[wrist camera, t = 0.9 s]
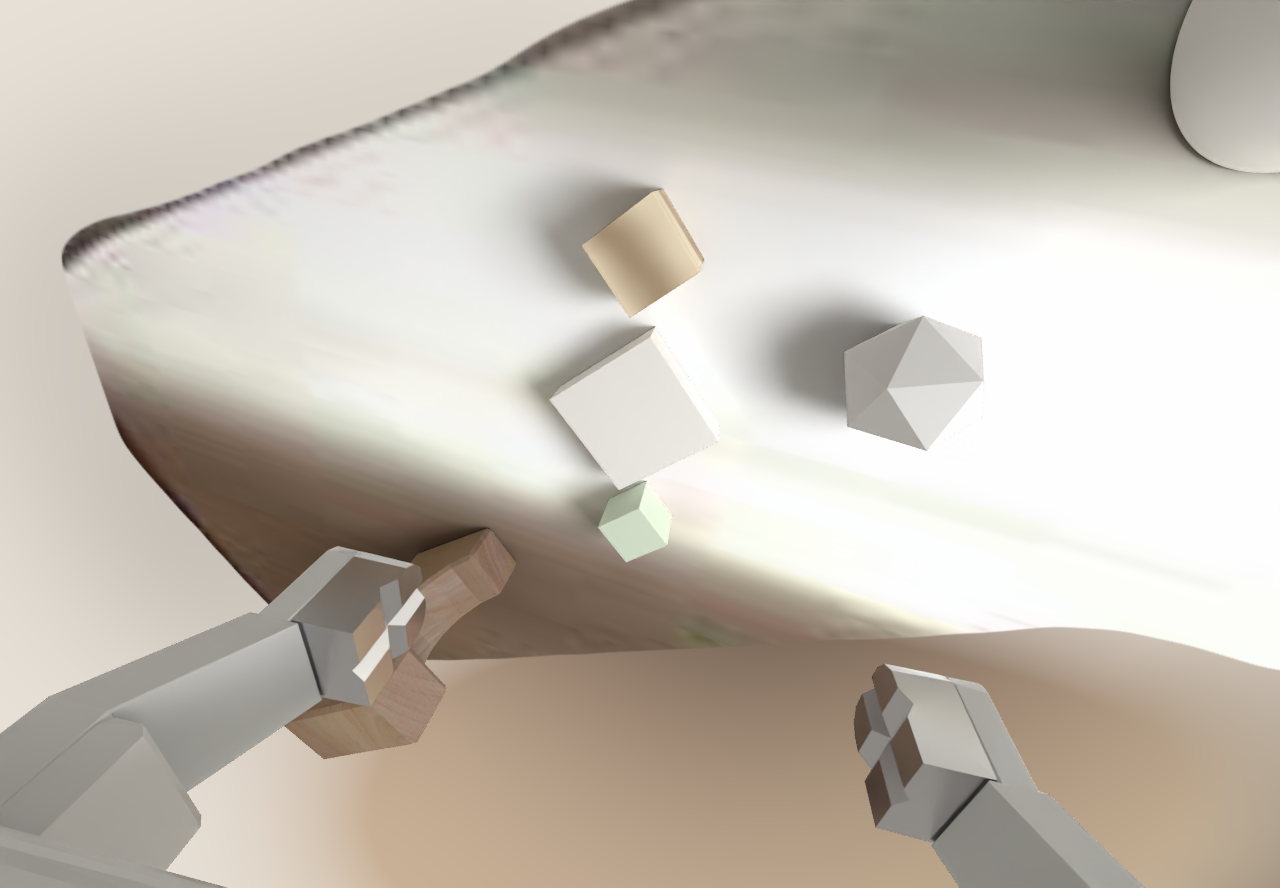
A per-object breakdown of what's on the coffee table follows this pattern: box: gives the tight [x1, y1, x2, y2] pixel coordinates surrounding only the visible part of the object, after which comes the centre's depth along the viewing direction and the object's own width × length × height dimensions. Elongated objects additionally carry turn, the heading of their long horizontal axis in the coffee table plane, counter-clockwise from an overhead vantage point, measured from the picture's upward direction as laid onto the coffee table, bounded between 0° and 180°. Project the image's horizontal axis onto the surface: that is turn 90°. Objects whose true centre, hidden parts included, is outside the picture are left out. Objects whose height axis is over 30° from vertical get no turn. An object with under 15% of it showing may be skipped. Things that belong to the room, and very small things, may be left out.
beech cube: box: [582, 189, 704, 318], centre depth 34 cm, size 6×6×6 cm
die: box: [844, 316, 984, 451], centre depth 34 cm, size 8×9×10 cm
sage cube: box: [598, 481, 673, 562], centre depth 46 cm, size 4×4×4 cm
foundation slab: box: [550, 326, 720, 490], centre depth 41 cm, size 10×10×3 cm
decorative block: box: [285, 529, 516, 759], centre depth 47 cm, size 11×6×20 cm, turn 117°
